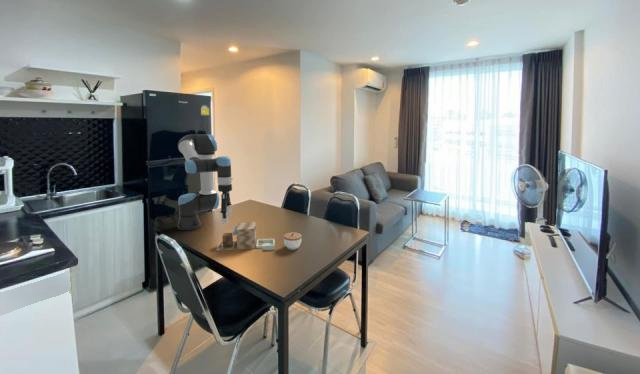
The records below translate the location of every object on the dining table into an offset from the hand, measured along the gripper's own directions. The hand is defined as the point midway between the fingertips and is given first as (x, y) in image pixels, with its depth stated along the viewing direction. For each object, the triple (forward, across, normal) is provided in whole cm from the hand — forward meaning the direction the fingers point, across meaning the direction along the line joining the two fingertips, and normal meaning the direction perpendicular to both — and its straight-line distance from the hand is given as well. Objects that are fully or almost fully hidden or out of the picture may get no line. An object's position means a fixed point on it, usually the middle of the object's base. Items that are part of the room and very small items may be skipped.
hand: (226, 219), depth 175 cm
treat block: (+16, 0, 0) cm, 16 cm away
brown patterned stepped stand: (+18, 0, -4) cm, 18 cm away
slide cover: (+8, 0, -9) cm, 12 cm away
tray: (+18, 0, -22) cm, 28 cm away
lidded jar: (+18, -4, -38) cm, 42 cm away
